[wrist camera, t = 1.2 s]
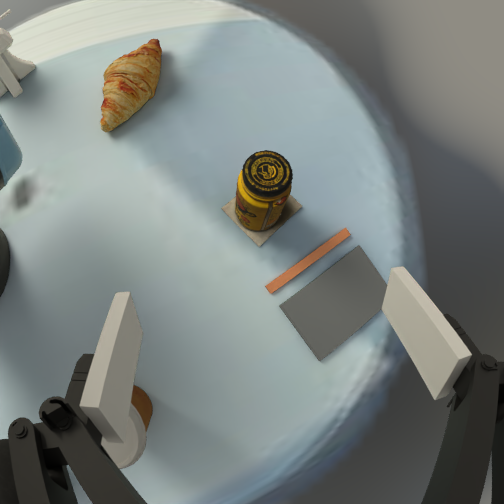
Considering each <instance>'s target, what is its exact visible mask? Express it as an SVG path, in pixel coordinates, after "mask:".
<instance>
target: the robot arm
mask: <svg viewBox="0 0 504 504" xmlns="http://www.w3.org/2000/svg"><path fill="white" fill-rule="evenodd" d="M21 163H22V152H21V150H20V148H19V146H18V144H17V142H16V141H15V139H14V137H13V135H12V134H11V132H10V130H9V129H8V127H7V125H6V123H5V122H4V120H3V118H2V116H1V115H0V190H1V189H2V188H3V187H4V186H6V185H7V182H8V180H9V179H10V178H11V177H12V176H13V174H14V173H15V172H16V171H17V170H18V169H19V167H20V165H21ZM9 265H10V254H9V246H8V242H7V239H6V237H5V235H4V233H3V231H2V230H1V229H0V296H1V295H2V293H3V290H4V288H5V285H6V282H7V278H8V273H9ZM382 311H383V312H384V314H385V315H386V317H387V319H388V320H389V322H390V324H391V325H392V327H393V328H394V330H395V332H396V333H397V335H398V337H399V338H400V340H401V342H402V343H403V345H404V347H405V348H406V350H407V352H408V354H409V355H410V357H411V359H412V360H413V362H414V364H415V366H416V367H417V369H418V371H419V373H420V374H421V376H422V378H423V380H424V382H425V383H426V385H427V387H428V389H429V390H430V392H431V394H432V396H433V398H434V400H437V399H439V398H442V397H445V396H447V395H448V394H449V392H450V391H451V389H452V388H454V390H455V392H456V393H455V395H454V396H453V397H452V399H451V400H450V402H449V403H448V405H447V407H449V406H450V405H451V403H452V405H451V410H450V414H449V418H448V422H447V427H446V430H445V435H444V438H443V442H442V445H441V448H440V452H439V455H438V458H437V461H436V465H435V468H434V471H433V474H432V477H431V479H430V482H429V485H428V488H427V490H426V493H425V496H424V498H423V501H422V503H421V504H479V502H480V499H481V495H482V491H483V488H484V483H485V479H486V475H487V470H488V466H489V461H490V455H491V451H492V502H491V504H504V362H497V360H496V359H494V358H493V357H491V356H490V355H485V354H483V355H482V354H481V353H480V351H479V350H478V348H477V347H476V346H475V344H474V343H473V342H472V340H471V339H470V338H469V336H468V335H467V334H466V333H465V331H464V330H463V329H462V328H461V326H460V325H459V323H458V322H457V321H456V320H455V319H454V318H453V317H451V316H450V315H448V314H444V315H442V314H441V312H440V311H439V310H438V308H437V307H436V306H435V304H434V303H433V302H432V301H431V300H430V298H429V297H428V296H427V294H426V293H425V292H424V291H423V289H422V288H421V287H420V286H419V285H418V283H417V282H416V281H415V280H414V279H413V277H412V276H411V275H410V274H409V273H408V271H407V270H406V269H405V268H404V267H396V268H391V272H390V276H389V281H388V285H387V289H386V293H385V297H384V301H383V305H382ZM142 337H143V331H142V328H141V325H140V322H139V319H138V316H137V312H136V309H135V306H134V303H133V299H132V296H131V293H130V292H117V293H115V296H114V299H113V301H112V304H111V307H110V310H109V312H108V315H107V318H106V321H105V324H104V327H103V330H102V333H101V336H100V339H99V342H98V345H97V348H96V351H95V354H83V355H82V357H81V358H80V359H79V360H78V361H77V363H76V366H75V369H74V374H73V375H72V378H71V381H70V384H69V387H68V391H67V394H66V397H65V399H64V398H62V397H51V398H48V399H47V400H46V401H44V402H43V404H42V405H41V407H40V410H39V416H40V419H41V420H42V421H43V422H42V423H36V424H33V423H32V422H31V421H30V420H29V419H26V418H18V419H16V420H14V421H13V422H12V423H11V425H10V427H9V430H8V438H9V447H10V455H11V462H12V468H13V474H14V480H15V485H16V490H17V495H18V500H19V504H78V502H77V499H76V496H75V493H74V490H73V487H72V484H71V481H70V478H69V474H68V471H67V467H66V465H69V466H70V468H71V470H72V471H73V473H74V475H75V476H76V478H77V480H78V481H79V483H80V484H81V486H82V488H83V489H84V491H85V492H86V494H87V495H88V497H89V498H90V500H91V501H92V503H93V504H147V503H146V502H145V500H144V499H143V498H142V497H141V496H140V495H139V493H138V492H137V491H136V490H135V489H134V487H133V486H132V485H131V484H130V482H129V481H128V480H127V478H126V477H125V476H124V475H123V473H122V472H121V471H120V469H119V468H118V467H117V465H116V464H115V463H114V461H113V460H112V458H111V457H110V456H109V454H108V453H107V451H106V450H105V449H104V447H103V446H102V445H101V442H102V436H103V437H104V439H105V440H106V441H107V442H109V443H121V444H125V438H126V430H127V423H128V416H129V409H130V403H131V397H132V391H133V385H134V379H135V373H136V368H137V362H138V357H139V352H140V347H141V342H142Z"/></svg>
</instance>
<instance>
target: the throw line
mask: <svg viewBox="0 0 504 504" xmlns="http://www.w3.org/2000/svg"><path fill="white" fill-rule="evenodd" d="M350 235H351V234H350V233H349V232H348V230H347V229H346V228H345V229H343V230H342V231H341V232H339V233H338V234H336V235H335V236H334V237H332V238H331V239H330V240H328V241H327V242H326V243H324V244H323V245H322V246H320V247H319V248H318V249H316V250H315V251H313V252H312V253H311V254H309V255H308V256H307V257H305V258H304V259H303V260H301V261H300V262H298V263H297V264H296V265H294V266H293V267H291V268H290V269H289V270H287V271H286V272H285V273H283V274H282V275H280V276H279V277H278V278H276V279H275V280H273V281H272V282H271V283H269V284H268V285H266V286H265V287H266V288H267V290H268V291H269V292H270V294H271V293H273V292H274V291H275V290H277V289H278V288H280V287H281V286H282V285H284V284H285V283H287V282H288V281H289V280H291V279H292V278H293V277H295V276H296V275H298V274H299V273H300V272H302V271H303V270H304V269H306V268H307V267H308V266H310V265H311V264H312V263H314V262H315V261H316V260H318V259H319V258H320V257H322V256H323V255H324V254H326V253H327V252H328V251H330V250H331V249H332V248H334V247H335V246H336V245H338V244H339V243H340V242H342V241H343V240H344V239H346V238H347V237H348V236H350Z"/></svg>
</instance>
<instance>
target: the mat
mask: <svg viewBox="0 0 504 504" xmlns="http://www.w3.org/2000/svg"><path fill="white" fill-rule="evenodd" d="M386 289H387V284H386V283H385V281H384V280H383V278H382V277H381V275H380V274H379V272H378V271H377V270H376V268H375V267H374V265H373V264H372V262H371V261H370V260H369V258H368V257H367V255H366V254H365V252H364V251H363V250H362V248H361V247H360V246H357V247H356V248H355V249H353V250H352V251H351V252H350V253H348V254H347V255H346V256H345V257H343V258H342V259H341V260H339V261H338V262H337V263H336V264H334V265H333V266H332V267H330V268H329V269H328V270H327V271H325V272H324V273H323V274H321V275H320V276H319V277H317V278H316V279H315V280H313V281H312V282H311V283H309V284H308V285H307V286H305V287H304V288H303V289H301V290H300V291H299V292H297V293H296V294H295V295H293V296H292V297H291V298H289V299H288V300H287V301H285V302H284V303H283V304H281V305H280V308H281V309H282V310H283V312H284V313H285V315H286V316H287V317H288V319H289V320H290V321H291V323H292V324H293V326H294V327H295V328H296V330H297V331H298V332H299V334H300V335H301V337H302V338H303V339H304V341H305V342H306V344H307V345H308V346H309V348H310V349H311V350H312V352H313V353H314V355H315V356H316V357H317V359H318V360H319V361H321V360H322V359H323V358H325V357H326V356H327V355H328V354H330V353H331V352H332V351H333V350H334V349H336V348H337V347H338V346H339V345H341V344H342V343H343V342H344V341H345V340H347V339H348V338H349V337H350V336H351V335H352V334H354V333H355V332H356V331H357V330H358V329H359V328H361V327H362V326H363V325H364V324H365V323H366V322H368V321H369V320H370V319H371V318H372V317H373V316H374V315H375V314H376V313H378V312H379V311H380V310H381V309H382V305H383V301H384V297H385V293H386Z"/></svg>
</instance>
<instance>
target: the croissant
mask: <svg viewBox="0 0 504 504" xmlns="http://www.w3.org/2000/svg"><path fill="white" fill-rule="evenodd" d="M161 54H162V49H161V47H160V44H159V40H158V39H151V40H150V41H149V42H148V44H144V45H142V46H141V47H139V48H138V49H137V50H135V51H133V52H131V53H129V54H127V55H124V56H122V57H120V58H118V59H117V60H115V61H114V62H113V63H112V64H110V65H109V66H108V68H107V69H106V71H105V73H104V75H103V76H104V80H105V82H104V87H103V94H104V101H103V104H102V106H101V110H102V116H103V118H102V119H101V121H100V124H101V129H102V130H103V131H105V132H109V131H111V130H113V129H114V128H116V127H117V126H118V125H120V124H121V123H123V122H125V121H126V120H128V119H129V118H130V117H131V116H132V115H133V114H134V113H135V112H137V111H138V110H139V109H140V108H141V107H142V106H143V105H144V104H145V103H146V102H147V101H148V99H151V98H152V97H153V96H154V94H155V90H156V87H157V83H158V81H159V76H160V68H161Z"/></svg>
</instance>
